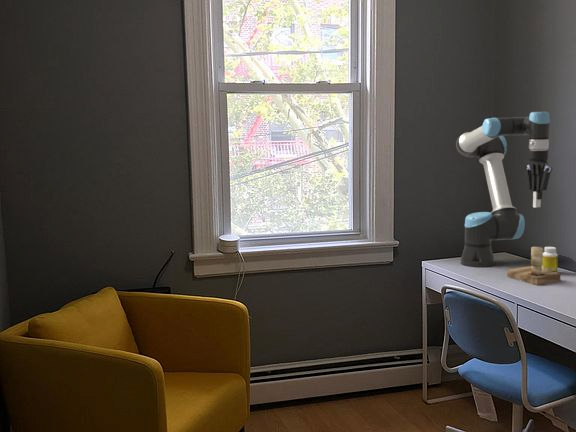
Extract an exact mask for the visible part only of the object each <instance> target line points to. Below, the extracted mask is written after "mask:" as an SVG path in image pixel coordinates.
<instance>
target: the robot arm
mask: <svg viewBox="0 0 576 432" xmlns="http://www.w3.org/2000/svg"><path fill="white" fill-rule="evenodd" d="M550 123H551V121H550V113H549V112H548V111H531V112H530V113H529V116H517V117H516V116H515V117H514V116H512V117H491V118H485V119H484V120H483V123H482V125H481V126H479V127H478V128H475V129H473V130H472V131H467V132H464V133H462V134H461V135H459V136H458V138H457V139H456V141H455V147H456V150H457V152H458V153H459V154H460V155H461V156H463V157H467V158H478V161H479V164H482V165H483V169H484V174H485V178H486V179H485V180H486V183H487V188H488V193H489V197H490V202H491V206H492V211H491V212H489V211H480V212H479V211H478V212H472V213H469V214H468V215H466V217H465V219H464V248H463V251H462V254H461V256H460V264H461V265H464V266H467V267H475V268H483V267H484V268H485V267H486V268H487V267H492V266H494V265H495V264H496V262H495V257H494V253H493V249H492V241H505V240H506V241H507V240H509V241H511V240H517V239H520V238H521V237H522V235H523V234H524V231H525V229H526V228H525V226H526V223H525V217H524V215H523V214H522V213H518V210H517V208H516V207H515V206H513V203H512V200H511V196H510V189H509V187H508V183H507V177H506V173H505V170H504V165H503V160H504V158H505V155H506V153H507V151H508V143H507V140H506V137H505V136H507V137H508V136H528V149H529V150H528V157H527V158H528V160H529V162H528V164H527V165H525V166H523V170H524V171H525V177H526V181H527V182H526V183H527V189H528V190H531V193H532V194H531V199H532V208H534V209H535V208H536V209H537V208H541V204H542V201H541V200H542V199H543V192H544V191H547V189H548V186H549V185H548V184H549V181H550V176H551V173H552V171H553V167H550V166H548V159H549V150H548V149H549V147H550V146H549V144H550V143H549V142H550Z"/></svg>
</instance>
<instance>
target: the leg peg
mask: <svg viewBox="0 0 576 432" xmlns="http://www.w3.org/2000/svg"><path fill="white" fill-rule="evenodd" d="M530 250H531V251H530V266H532V269H531V275H534V276H541V271H542V265H543V253H544V248H543V246H532V247H530Z"/></svg>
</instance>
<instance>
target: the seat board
mask: <svg viewBox="0 0 576 432" xmlns="http://www.w3.org/2000/svg"><path fill="white" fill-rule="evenodd" d="M531 269H532V265H527V266H522V267H516V268H510V269H506V270H507V271H506V277H507V278H509V277H510V279H513V280H516V279H517V280H516V281H520V280H521V281H520V282H523V281H524V283H527V284H531V285H534V286H541V285H547V284H550V283H556V282H557V283H558V282H561V273H559V272H557V273H555V272H552V271H548V270H544V269H542V271H541V276H534V275H531Z"/></svg>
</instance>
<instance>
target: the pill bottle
mask: <svg viewBox="0 0 576 432" xmlns="http://www.w3.org/2000/svg"><path fill="white" fill-rule="evenodd" d="M558 261H559V255H558V253H557V247H556V246H555V247H554V246H544V248H543V265H542V269H544V270H548V271H552V272H555V273H558V265H559V262H558Z"/></svg>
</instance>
